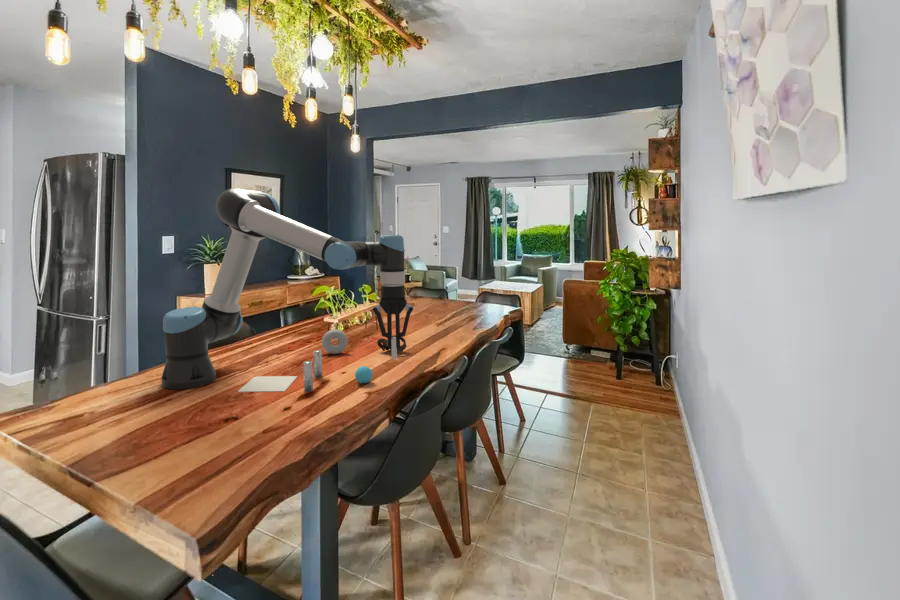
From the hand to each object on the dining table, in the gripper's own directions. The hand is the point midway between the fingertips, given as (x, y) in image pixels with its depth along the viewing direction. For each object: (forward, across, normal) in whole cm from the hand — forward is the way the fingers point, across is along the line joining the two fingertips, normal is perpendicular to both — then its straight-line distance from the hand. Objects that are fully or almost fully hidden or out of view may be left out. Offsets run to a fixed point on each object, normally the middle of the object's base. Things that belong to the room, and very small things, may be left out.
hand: (394, 357), depth 141 cm
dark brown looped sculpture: (+9, +4, -36) cm, 37 cm away
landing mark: (+8, +40, 0) cm, 41 cm away
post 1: (+8, +26, +6) cm, 28 cm away
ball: (+6, +10, 0) cm, 11 cm away
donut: (+8, +26, -35) cm, 44 cm away
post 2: (+8, +26, -6) cm, 28 cm away
